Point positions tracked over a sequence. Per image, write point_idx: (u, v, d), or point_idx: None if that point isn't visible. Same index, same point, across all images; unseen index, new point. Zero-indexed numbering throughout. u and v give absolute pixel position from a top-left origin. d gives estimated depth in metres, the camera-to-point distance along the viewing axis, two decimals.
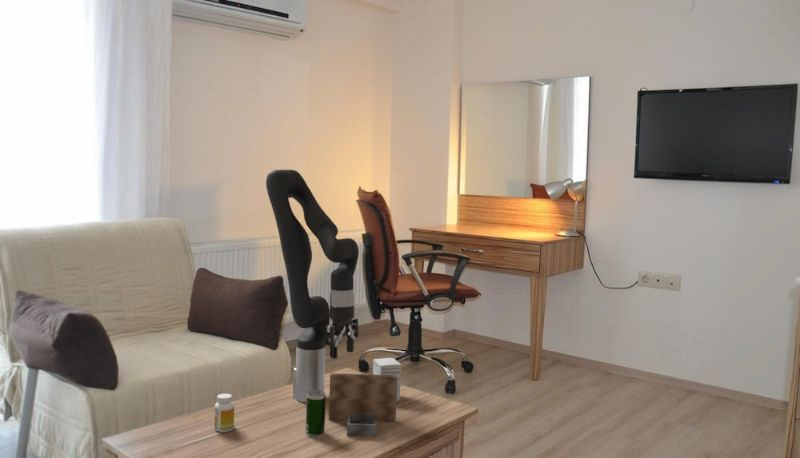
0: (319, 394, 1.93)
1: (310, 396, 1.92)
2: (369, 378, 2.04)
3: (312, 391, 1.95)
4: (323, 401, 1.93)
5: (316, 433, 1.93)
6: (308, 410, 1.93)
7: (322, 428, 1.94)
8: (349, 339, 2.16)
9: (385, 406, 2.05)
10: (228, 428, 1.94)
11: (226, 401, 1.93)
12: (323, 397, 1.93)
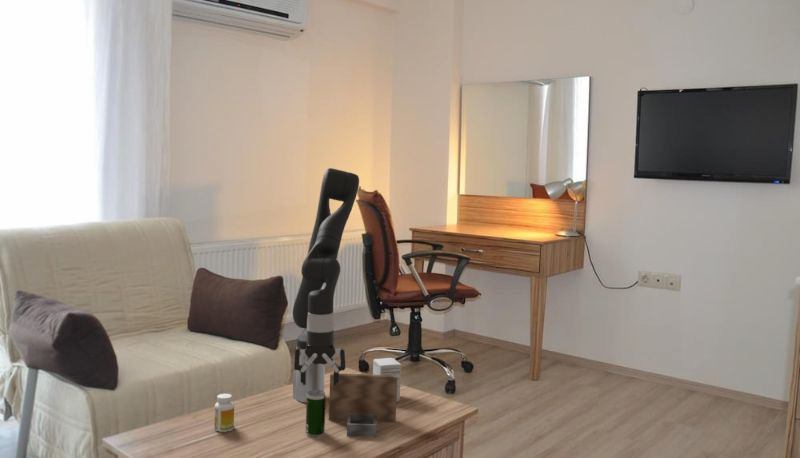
0: (319, 394, 1.93)
1: (310, 396, 1.92)
2: (369, 378, 2.04)
3: (312, 391, 1.95)
4: (323, 401, 1.93)
5: (316, 433, 1.93)
6: (308, 410, 1.93)
7: (322, 428, 1.94)
8: (305, 370, 1.93)
9: (385, 406, 2.05)
10: (228, 428, 1.94)
11: (226, 401, 1.93)
12: (323, 397, 1.93)
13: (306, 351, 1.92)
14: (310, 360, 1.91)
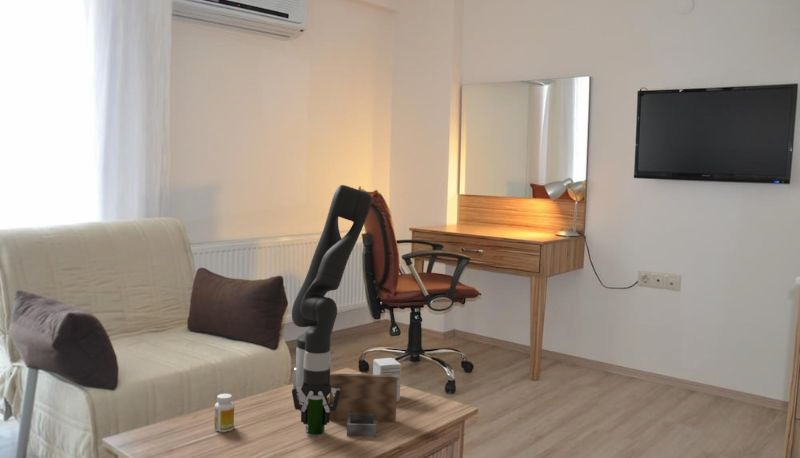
0: None
1: (310, 396, 1.92)
2: (369, 378, 2.04)
3: None
4: (323, 401, 1.93)
5: (316, 433, 1.93)
6: (308, 410, 1.93)
7: (322, 428, 1.94)
8: (305, 409, 1.94)
9: (385, 406, 2.05)
10: (228, 428, 1.94)
11: (226, 401, 1.93)
12: None
13: (302, 389, 1.93)
14: None
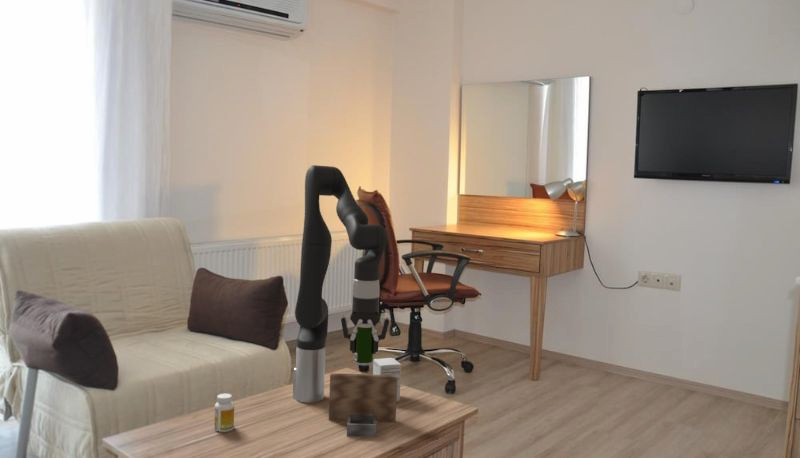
0: None
1: (359, 324, 1.93)
2: (369, 378, 2.04)
3: None
4: None
5: (365, 361, 1.94)
6: (357, 338, 1.94)
7: (371, 357, 1.95)
8: (354, 339, 1.95)
9: (385, 406, 2.05)
10: (228, 428, 1.94)
11: (226, 401, 1.93)
12: None
13: (351, 318, 1.94)
14: None
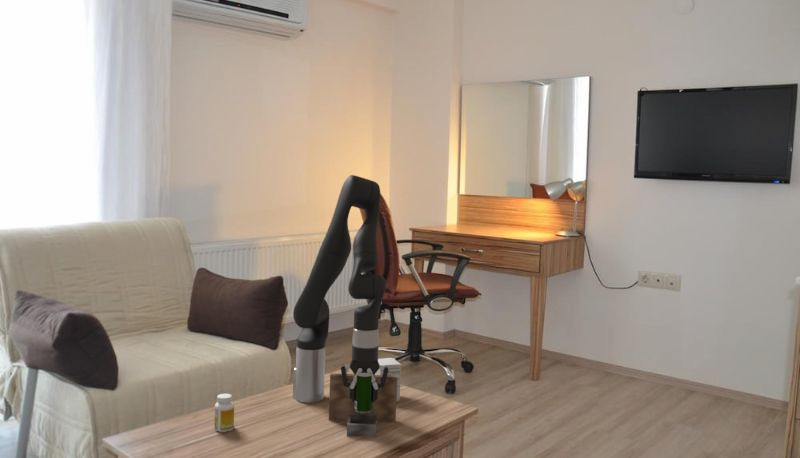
0: None
1: (359, 373, 1.95)
2: None
3: None
4: (372, 378, 1.96)
5: (365, 410, 1.95)
6: (357, 387, 1.95)
7: (371, 405, 1.96)
8: (354, 387, 1.97)
9: (385, 406, 2.05)
10: (228, 428, 1.94)
11: (226, 401, 1.93)
12: None
13: (351, 366, 1.96)
14: (356, 376, 1.95)
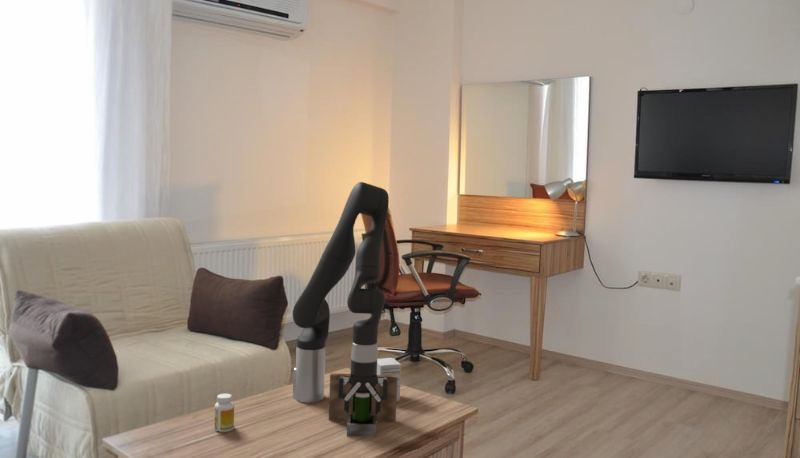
0: (366, 392, 1.96)
1: (357, 394, 1.95)
2: None
3: None
4: (370, 399, 1.96)
5: None
6: (355, 408, 1.96)
7: None
8: (348, 398, 1.97)
9: (385, 406, 2.05)
10: (228, 428, 1.94)
11: (226, 401, 1.93)
12: (370, 395, 1.96)
13: (350, 380, 1.96)
14: (354, 389, 1.95)
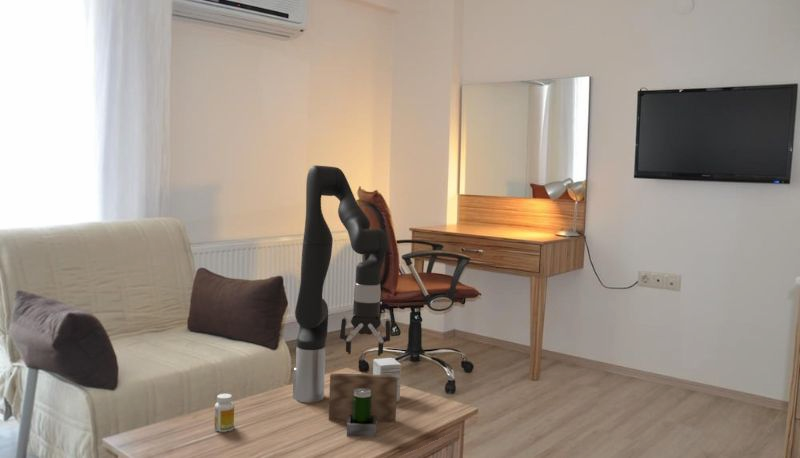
0: (366, 392, 1.96)
1: (357, 394, 1.95)
2: (369, 378, 2.04)
3: (358, 389, 1.98)
4: (370, 399, 1.96)
5: None
6: (355, 408, 1.96)
7: None
8: (350, 340, 1.96)
9: (385, 406, 2.05)
10: (228, 428, 1.94)
11: (226, 401, 1.93)
12: (370, 395, 1.96)
13: (352, 321, 1.95)
14: (356, 330, 1.94)
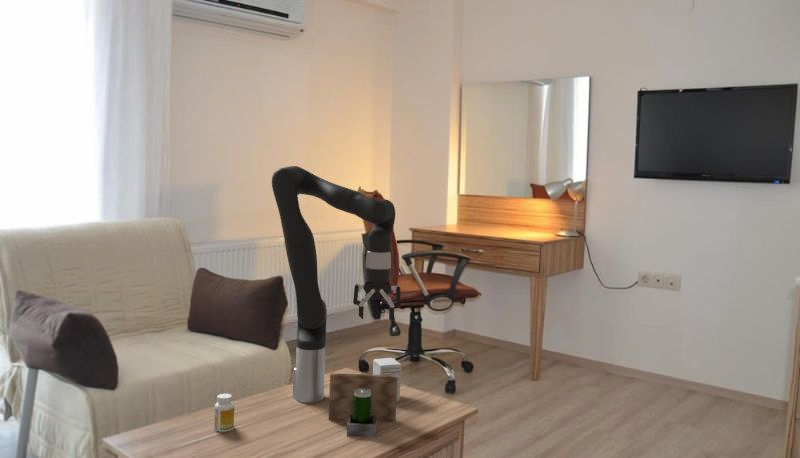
0: (366, 392, 1.96)
1: (357, 394, 1.95)
2: (369, 378, 2.04)
3: (358, 389, 1.98)
4: (370, 399, 1.96)
5: None
6: (355, 408, 1.96)
7: None
8: None
9: (385, 406, 2.05)
10: (228, 428, 1.94)
11: (226, 401, 1.93)
12: (370, 395, 1.96)
13: (364, 287, 2.06)
14: (368, 295, 2.05)
